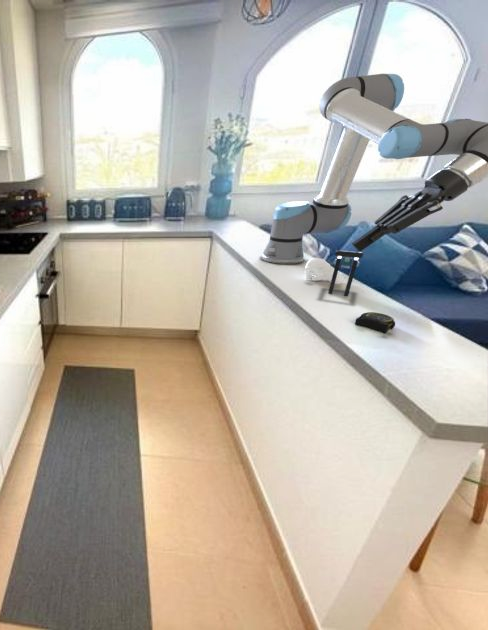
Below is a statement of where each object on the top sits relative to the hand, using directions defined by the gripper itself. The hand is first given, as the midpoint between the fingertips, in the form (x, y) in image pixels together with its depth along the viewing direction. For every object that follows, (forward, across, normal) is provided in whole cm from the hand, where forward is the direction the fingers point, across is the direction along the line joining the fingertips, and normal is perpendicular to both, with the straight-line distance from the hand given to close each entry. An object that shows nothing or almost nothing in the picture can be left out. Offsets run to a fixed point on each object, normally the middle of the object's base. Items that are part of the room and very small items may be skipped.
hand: (355, 247), depth 94 cm
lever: (+3, +5, -5) cm, 7 cm away
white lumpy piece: (+11, +21, -15) cm, 28 cm away
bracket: (+11, +9, -15) cm, 21 cm away
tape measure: (+12, -15, -14) cm, 24 cm away
